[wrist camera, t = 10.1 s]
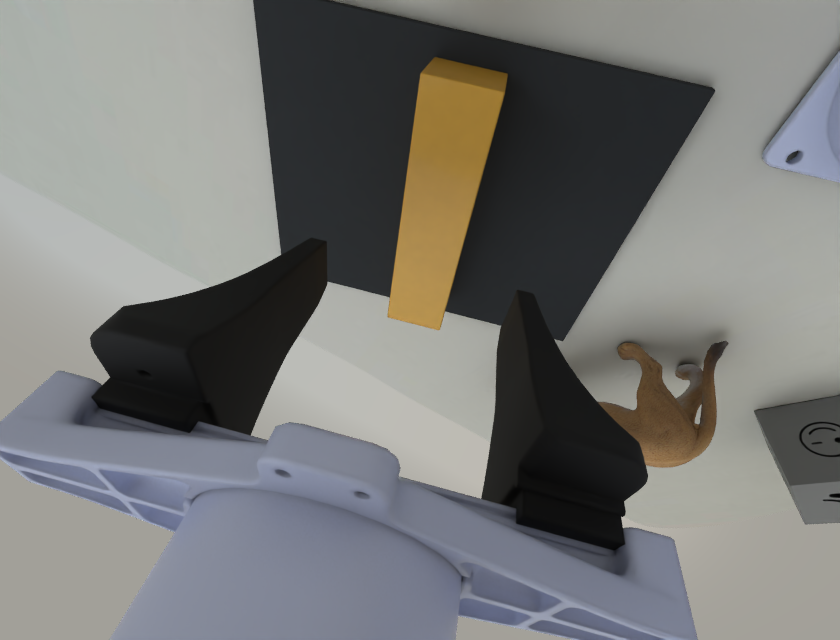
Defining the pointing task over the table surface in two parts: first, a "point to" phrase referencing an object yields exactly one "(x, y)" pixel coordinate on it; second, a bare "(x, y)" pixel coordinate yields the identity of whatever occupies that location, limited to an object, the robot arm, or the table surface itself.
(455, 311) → the mat
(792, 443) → the dice cube
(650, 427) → the lion figurine
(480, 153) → the bar
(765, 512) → the table surface
